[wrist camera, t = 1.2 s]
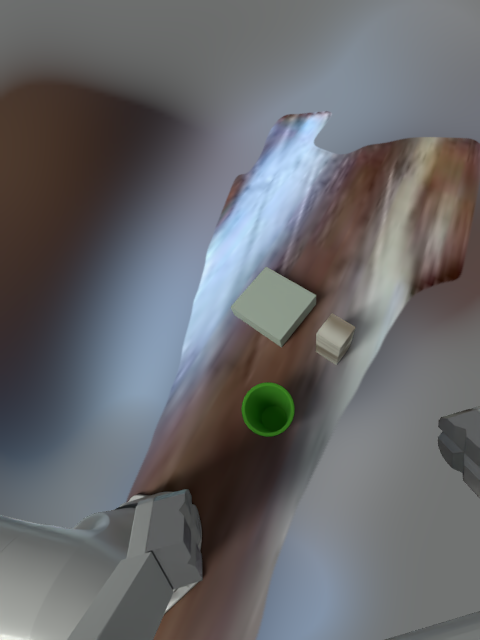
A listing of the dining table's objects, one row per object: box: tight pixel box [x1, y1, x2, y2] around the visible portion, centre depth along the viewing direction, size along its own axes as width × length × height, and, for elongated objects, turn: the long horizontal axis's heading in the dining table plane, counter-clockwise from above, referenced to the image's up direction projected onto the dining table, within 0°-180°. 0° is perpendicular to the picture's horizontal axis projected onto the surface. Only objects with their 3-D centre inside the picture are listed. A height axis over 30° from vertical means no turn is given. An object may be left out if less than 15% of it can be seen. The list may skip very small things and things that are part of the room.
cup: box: [242, 383, 295, 437], centre depth 59 cm, size 9×9×11 cm
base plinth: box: [231, 267, 316, 347], centre depth 73 cm, size 13×14×4 cm
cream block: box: [316, 314, 356, 365], centre depth 63 cm, size 5×5×10 cm
